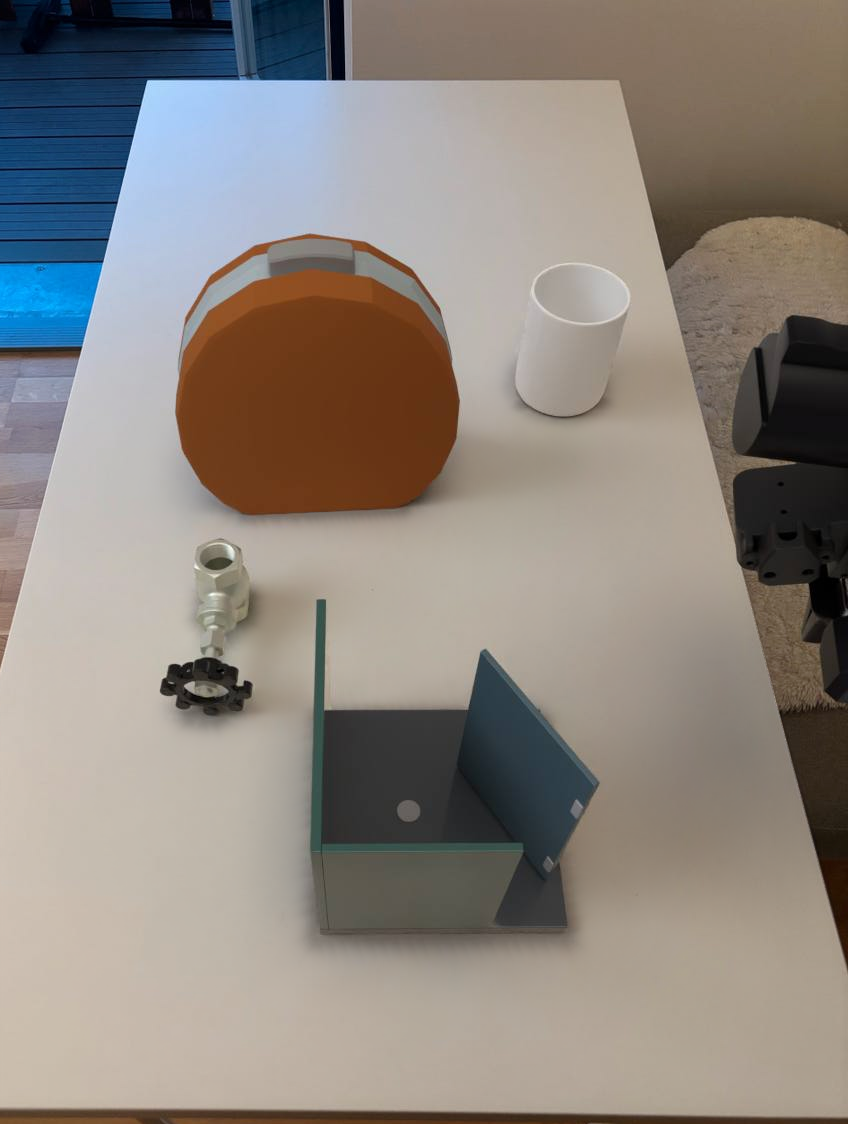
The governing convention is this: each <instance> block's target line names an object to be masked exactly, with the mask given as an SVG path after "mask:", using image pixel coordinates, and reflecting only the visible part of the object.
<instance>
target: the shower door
mask: <svg viewBox="0 0 848 1124" xmlns="http://www.w3.org/2000/svg"><path fill="white" fill-rule="evenodd" d="M475 670H476V671H475V675H474V680H473V684H472V689H471V690H472V691H471V694H470V699H469V702H468V703H469V704H468V708H467V710H468V712H467V717H466V722H465V727H464V731H463V736H462V741H461V745H460V750H459V755H458V760H457V764H456V765H457V766H458V767H459V769H460V770H461V771H462V773H463V774H464V775H465V777H466V778H467V779H468V780H469V782H470V783H471V784H472V786H473V787H474V788H475V790H476V791H477V792H478V793H479V795H480V796H481V797H482V799H483V800H484V801H485V803H486V804H487V805H488V806H489V808H490V809H491V810H492V812H493V813H494V814H495V816H496V817H497V818H498V819H499V821H500V822H501V823H502V825H503V826H504V827H505V829H506V830H507V831H508V832H509V834H510V835H511V836H512V838H513V839H514V840H515V842H516V843H523V849H524V851H523V852H524V853H525V855H526V856H527V857H528V858H529V860H530V861H531V862H532V864H533V865H534V866H535V868H536V869H537V870H538V871H539V873H540V874H541V875H542V877H543V878H544V879H545V880H546V879H547V878H549V877H550V875H551V873H552V871H553V869H554V868H555V867H556V865H557V863H558V861H559V862H560V858H561V856H562V855H563V852H564V851H565V849H566V847H567V845H568V843H569V842H570V839H571V838H572V836H573V834H574V832H575V831H576V828H577V827H578V825H579V824H580V822H581V819H582V818H583V815H584V814H585V813H586V811H587V809H588V807H589V805H590V803H591V801H592V799H593V797H594V795H595V793H596V792H597V789H598V788H599V786H600V784H601V782H600V781H599V779H598V778H597V777H596V775H594V773H593V772H592V771H591V770H590V769H589V768H588V766H587V765H586V764H585V762H583V760H582V759H581V758H580V757H579V756H578V755H577V754H576V752H575V751H574V750H573V749H572V748H571V747H570V745H569V744H568V743H567V742H566V741H565V739H563V737H562V736H561V735H560V734H559V732H558V731H557V730H556V729H555V728H554V727H553V726H552V724H551V723H550V722H549V721H548V720H547V718H546V717H545V716H544V715H543V714H542V713H541V710H540V711H539V710H538V709H539V708H537V706H535V704H534V703H533V702H532V700H531V699H530V698H529V697H528V696H527V695H526V693H524V691H523V690H522V689H521V688H520V686H519V685H517V683H516V682H515V681H514V680H513V678H512V677H511V676H510V675H509V674H508V672H507V671H506V670H505V669H504V668H503V667H502V666H501V664H500V663H499V662H498V661H497V660H496V658H495V657H494V656H493V655H492V654H491V653H490V652H489V650H488V649H487V648H484V649H482V650H480V652H479V656H478V661H477V666H476V669H475Z"/></svg>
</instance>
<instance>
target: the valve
mask: <svg viewBox="0 0 848 1124" xmlns="http://www.w3.org/2000/svg"><path fill="white" fill-rule="evenodd" d="M193 570H194V574H195V579H194V585H195V591H196V594H197V596H198V598H199V600H200V602H202V603H201V604H199V607H198V612H197V616H196V622H197V624H198V625H199V626H200V627H201V628H203V630H204V632H202V635H201V640H200V645H199V648H200V653H201V655H203V657H201V658H196V659H194V661H187V662H185V663H183V664H178V663H170V664H168V666H167V670H166V676H165V677H163V678H162V679H161V680H160V687H159V694H161V695H162V696H164V697H174V696H176V699H175V707H176V708H177V709H179V710H181V711H182V710H183V711H187V710H189V709H190V708H191V707H192V706H195V707H201V708H203V709H202V712H203V714H204V715H206V716H209V717H211V716H212V717H215V716H217V715H219V710H220V708H223V707H226V708H227V709H228V710H229V711H231V712H234V713H235V712H236V713H239V712H242V711H243V710H244V708H245V707H244V705H245V700H249V699H251V698H252V696H253V688H254V684H253V683H252V681H249V680H243V683H242V685H238V680H239V675H240V670H239V668H238V667H237V666H233V665H229V664H228V663H225V662H222V661H221V660H220V659H219V658H220V657H223V656H225V651H226V646H227V638H226V634H228V632H231V631H233V630H235V628H236V627H237V623H239V622H241V621H243V620H245V619H246V618H248V613H249V607H250V594H249V593H250V589H251V578H250V575H249V572H248V570H247V569H246V566H245V565H244V558H243V551H242V548H240V547H239V546H238V545H237V544H234V543H233V542H231V541H229V540H227V539H224V538H221V537H219V538H216V539H213V540H209V541H207V542H204V543H202V544H200V545H198V546H197V547H196V551H195V555H194V562H193ZM193 682H194V686H193V687H194V692H195V693H193V692H191V691H190V690H188V689H187V688H186V687H185V685H187V684H189V683H193ZM220 686H221V687H222V688H224V689H226V690H227V693H226V694H223V695H220V696H217V695H219V688H220Z"/></svg>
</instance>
